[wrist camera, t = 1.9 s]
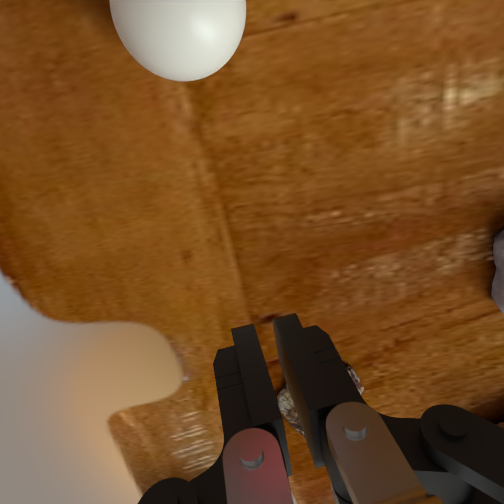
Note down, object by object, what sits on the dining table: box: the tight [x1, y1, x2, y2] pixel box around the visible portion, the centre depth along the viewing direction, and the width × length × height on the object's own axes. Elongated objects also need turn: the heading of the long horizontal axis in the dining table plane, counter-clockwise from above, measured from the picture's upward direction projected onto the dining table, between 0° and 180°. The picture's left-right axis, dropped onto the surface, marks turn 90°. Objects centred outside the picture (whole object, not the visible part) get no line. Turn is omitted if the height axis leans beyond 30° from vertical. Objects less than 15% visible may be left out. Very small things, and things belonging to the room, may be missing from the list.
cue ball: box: [109, 0, 246, 81], centre depth 18 cm, size 6×6×6 cm
